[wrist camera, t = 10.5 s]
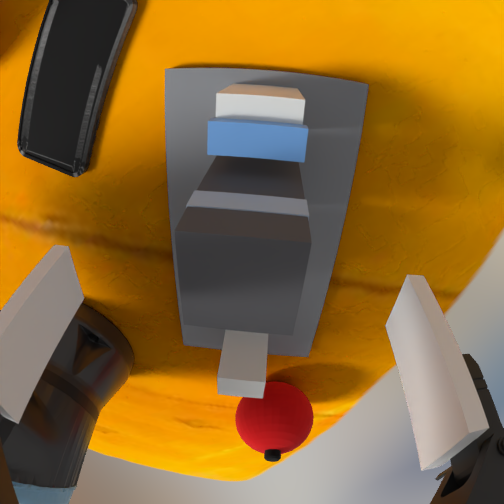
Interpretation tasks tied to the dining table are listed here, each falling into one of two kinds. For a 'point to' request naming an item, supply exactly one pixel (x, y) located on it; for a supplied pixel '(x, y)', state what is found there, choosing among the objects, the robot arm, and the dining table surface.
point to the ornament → (275, 420)
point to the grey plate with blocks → (266, 147)
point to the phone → (71, 80)
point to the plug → (244, 246)
